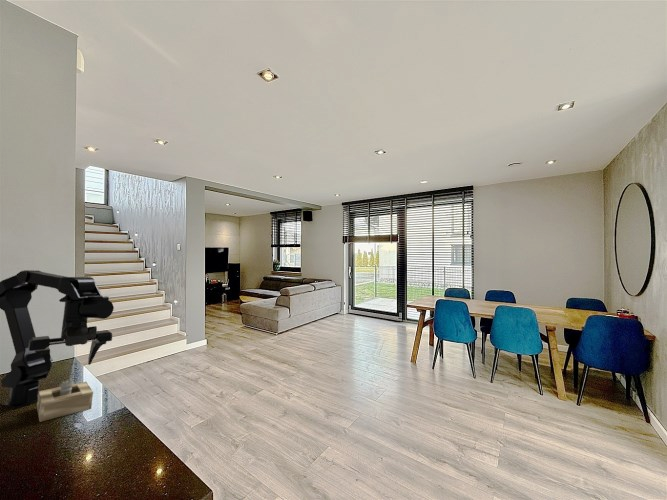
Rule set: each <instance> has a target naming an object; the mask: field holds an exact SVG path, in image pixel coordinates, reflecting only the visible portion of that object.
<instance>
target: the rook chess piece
mask: <svg viewBox="0 0 667 500" xmlns="http://www.w3.org/2000/svg"><path fill="white" fill-rule="evenodd" d="M73 384H75V383H74V382H73V380H72V379H69V380H68V379H66V380H65V381H64V380H63V381H61V382H60V384H59V385H58V387H60V388H61V390H60V396H63V395H68V394H71V390H72V388H71V387H72V385H73Z"/></svg>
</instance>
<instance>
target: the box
mask: <svg viewBox="0 0 667 500" xmlns="http://www.w3.org/2000/svg"><path fill="white" fill-rule="evenodd" d="M71 388H72V390H71V394H68V395H63V396H60V390H61V388H60V387H59V386H57V387H53V388H47V389H44V390H43V389H42V390H38V401H36V402H37V403H36V411H37V415H38V421H39V423H40V422H41V423H42V422H46V421H49V420H52V419H56V418H60V417H64V416H68V415H71V414H75V413H80V412H83V411H88V410H90V409H92V405H93V397H94V396H93V395H94V391H93V388H91V387H90V385H89V383H88V382H87V381H84V382H77V383H74V384H73V385H72V387H71Z"/></svg>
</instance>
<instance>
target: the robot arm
mask: <svg viewBox="0 0 667 500" xmlns="http://www.w3.org/2000/svg"><path fill="white" fill-rule="evenodd" d="M39 286H41V287H46V288H47V287H48V288H51V289H55V290H57V291H58V292H59V293H60V294H63V295H65V296H64V297H61V298H60V299H59V302H60V303H64V308H63V309H64V310H63V318H62V326H61V334H60V337H54V338H50V336H49V335H45V336H42V335H41V336H36V332H35V330H34V325H33V322H32V318H31V314H30V311H29V307H28V306H29V303H30V302H31V300H32V298H33V296H32V293H33V292H35V291H36V290H38V287H39ZM109 298H110V297H109V296H107V295H106V296H103V294H102V293H101V290H100V288H99V287H98V286H97V283H96V282H95V279H94V278H93V277H91V276H64V275H60V274H59V275H58V274H54V273H49V272H45V271H40V270H32V269H31V270H29V269H26V270H25V269H24V270H21V271H19V272H18V273H17V274H15V275H12V276H10V277H7V278H5V279H3V280H1V281H0V310H2V311H3V312H4V314H5V318H6V321H7V325H8V330H9V333H10V337H11V339H12V340H11V341H12V344H13V345H12V346H13V348H14V352H15V355H14V358H13V359H12V361H11V363H10V371H9V372H8V373H7V374H5V376H4V377H3V378H2V379H1V380H0V381H1V387H3V388H9V395H8V396H9V397H8V401H6V402H3V403H1V406H2V407H6V408H13V409H14V408H15V409H20V408H23V407H24V406H27V405H30V404H34V403H36V402H38V394H39V388H40V387H39V385H40V380H43V379H47V378H48V375H49V373H50V372H51V369H52V366H53V360H54V359H52V356H51V349H50V346H53V345H63V344H65V346H66V347H72V346H77V345H81V346H82V345H86V344H88V341H91V344H90V349H89V355H88V360H87V361H88V362H87V364H88V366H90V365H91V364H92V362H93V360H94V358H95V356H96V354H97V353H98V351H99V349H100V348H101V347H102V346H103V345H107V342H112V341H113V333H112V332H111V331H109V330H108V329H106V330H105V329H104V330H97V329H98V328H97V326H95V325H94V326H89V327H88V318H89V319H102V320H103V319H107V318H109V317H110V316H111V315H113V312H114V310H115V309H114V307H115V306H114V305H113V303H112V301H111V300H110V299H109Z"/></svg>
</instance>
